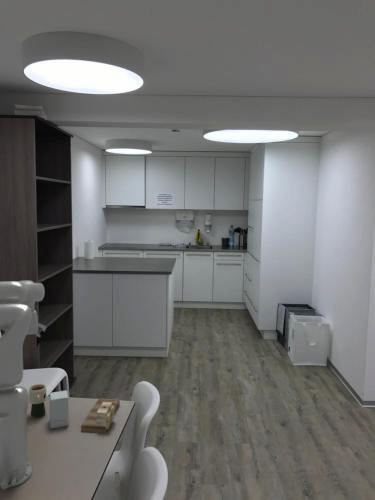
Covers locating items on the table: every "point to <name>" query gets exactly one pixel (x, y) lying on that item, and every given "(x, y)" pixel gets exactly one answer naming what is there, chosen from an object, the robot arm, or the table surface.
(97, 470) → the table surface
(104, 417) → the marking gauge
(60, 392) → the supplement box
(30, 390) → the character mug
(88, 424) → the walnut board
